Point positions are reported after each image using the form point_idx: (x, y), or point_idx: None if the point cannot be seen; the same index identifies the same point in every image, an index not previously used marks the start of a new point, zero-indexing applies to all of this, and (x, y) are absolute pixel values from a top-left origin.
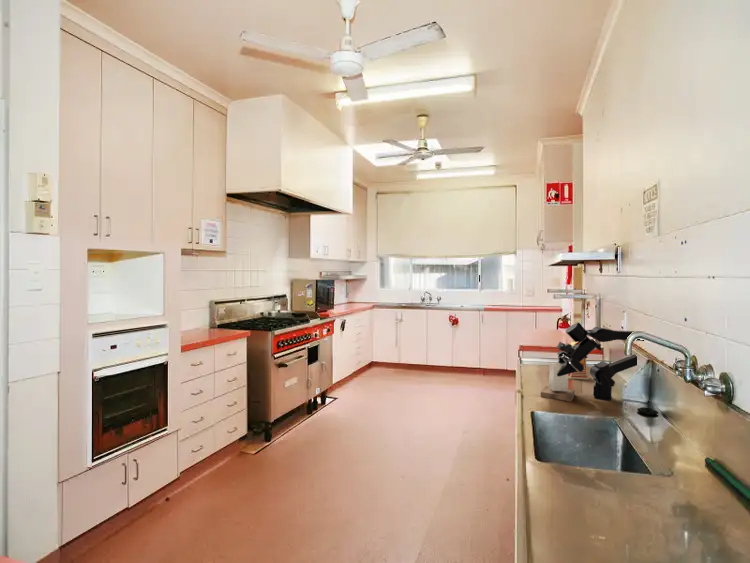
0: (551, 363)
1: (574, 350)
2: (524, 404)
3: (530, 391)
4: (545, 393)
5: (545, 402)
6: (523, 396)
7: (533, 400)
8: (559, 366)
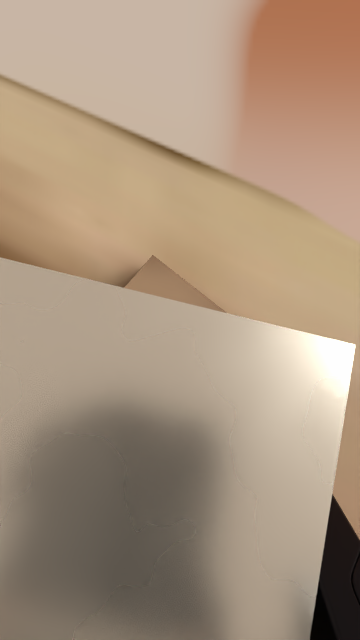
0: (219, 317)
1: None
2: (10, 93)
3: (291, 261)
4: (130, 283)
5: (26, 233)
6: (170, 158)
7: (78, 179)
8: None
